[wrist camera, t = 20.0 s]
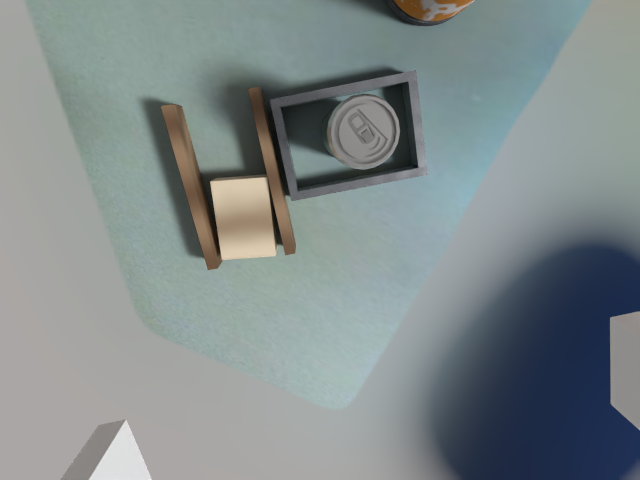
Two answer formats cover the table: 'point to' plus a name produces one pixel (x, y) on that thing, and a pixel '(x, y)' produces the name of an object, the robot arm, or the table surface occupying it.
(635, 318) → the robot arm
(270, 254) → the block
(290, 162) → the frame
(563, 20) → the table surface
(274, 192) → the beam
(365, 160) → the beer can
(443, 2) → the canister
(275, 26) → the table surface
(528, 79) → the table surface
